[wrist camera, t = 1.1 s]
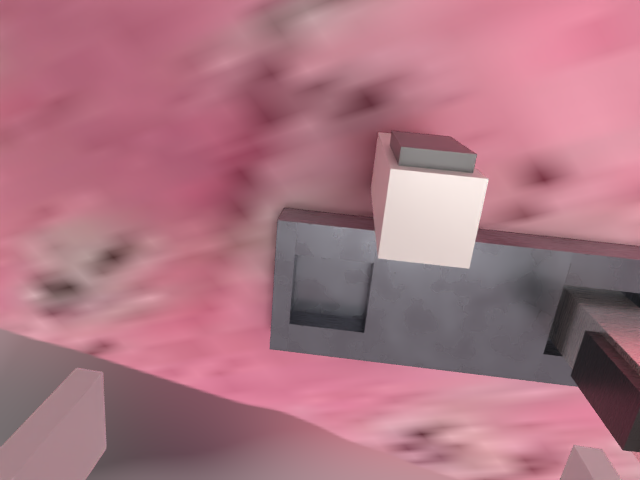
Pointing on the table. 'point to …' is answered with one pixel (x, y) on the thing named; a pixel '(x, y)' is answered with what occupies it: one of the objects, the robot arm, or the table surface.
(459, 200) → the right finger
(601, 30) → the table surface
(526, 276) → the grey and white block
